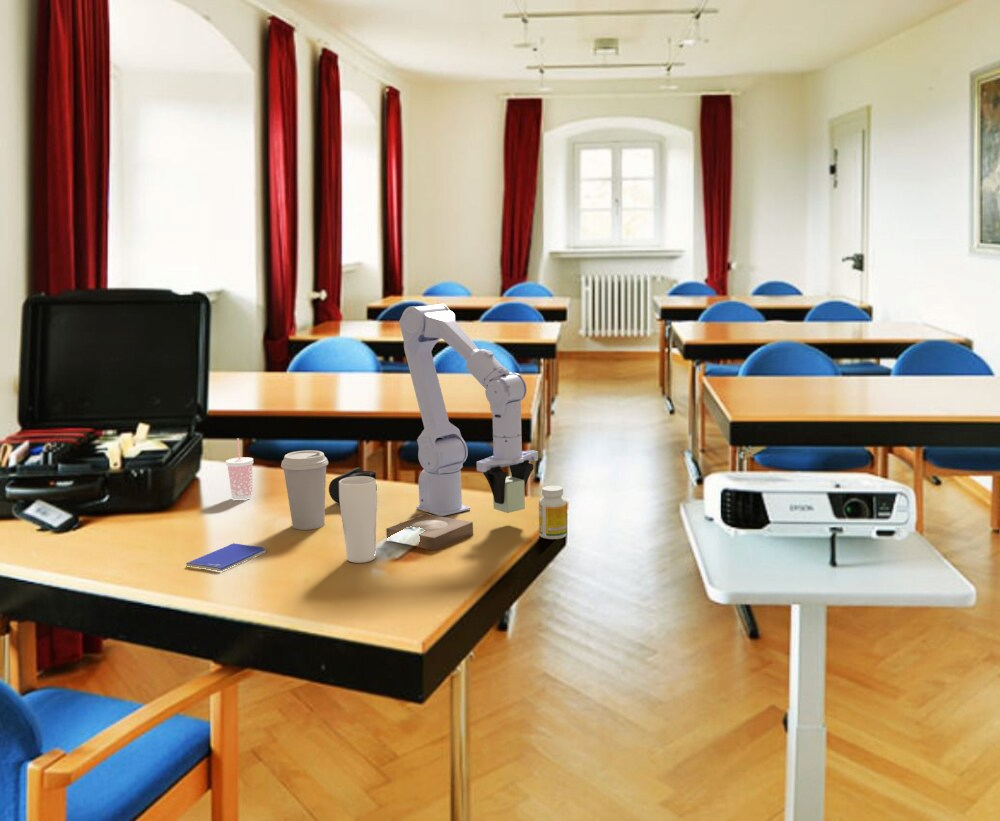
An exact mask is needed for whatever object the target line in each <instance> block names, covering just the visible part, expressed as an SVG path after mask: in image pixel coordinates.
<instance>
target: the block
mask: <svg viewBox="0 0 1000 821" xmlns="http://www.w3.org/2000/svg"><path fill="white" fill-rule="evenodd" d="M525 492H526V490H525V491H524V480H522V479H518V478H515V477H512V475H511V476H507V477H506V481H505V487H504V503H503V504H499V503H495V501H494V497H492V498H493V500H492V501H493V509H494V510H497V511H499V512H502V513H507V514H509V513H514V512H518V511H521V510H525V509H526V508H525V506H526V503H525V502H526V501H525V498H526V497H525Z"/></svg>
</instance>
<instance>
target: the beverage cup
mask: <svg viewBox="0 0 1000 821" xmlns="http://www.w3.org/2000/svg"><path fill="white" fill-rule="evenodd" d="M236 443H237V445H236V446H237V457H232V458H229V459H226V460H225V463H226V465H225V466H227V471H228V472H227V473H228V479H229V486H230V494H231V499H232V498H233V499H247V498H251V497H252V496H253V494H254V493H253V492H254V491H253V490H254V489H253V486H254V485H253V464H254V458H253V457H247V456H246V457H245V456H244V457H241V446H240V445H241V444H240V438H239V437H238V438H236ZM253 497H254V496H253ZM251 499H252V498H251Z"/></svg>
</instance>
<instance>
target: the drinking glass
mask: <svg viewBox="0 0 1000 821" xmlns="http://www.w3.org/2000/svg"><path fill="white" fill-rule="evenodd" d="M376 484H377V483H376V479H374V478H373V477H368V476H354V477H348V478H344V479H341V480H340V481H339V501H340V505H339V509H340V515H341V522H342V529H343V536H344V542H345V543H344V544H345V549H346V550H345V552H346V554H345V555H346V560H347V561H348V562H350V563H354V564H364V563H369V562H371V561H373V560H375V559H376V557H375V556H374V554H375V551H376V552H377V550H376V544H377V543H376V541H377V540H376V539H377V515H378V514H377V510H378V508H377V506H378V500H377V499H378V497H377V496H378V495H377V494H378V493H377V491H376Z"/></svg>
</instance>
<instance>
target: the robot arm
mask: <svg viewBox="0 0 1000 821" xmlns="http://www.w3.org/2000/svg"><path fill="white" fill-rule="evenodd" d="M398 324H399V328H400V331H401V335H402V338H403V349H404V354H405V358H406V361H407V366H408V368H409V374H410V377H411V381H412V386H413V390H414V393H415V397H416V401H417V404H418V408H419V412H420V416H421V420H422V423H423V424H422V425H423V428H424V429H423V430H422V431H421V433H420V435H419V436H418V437H417V439H416V442H417V445H418V446H417V447H418V454H417V456H418V461H419V464H420V465H421V467H422V468H423V469H422V471H421V472H420V474H419V476H418V499H419V500H418V502H419V505H417V506H415V508H416V509H417V510H421V511H424V512H427V513H429V514H431V515H435V516H441V517H446V516H450V515H453V514H457V513H461V512H466V511H470V510H471V506H467V505H465V504H463V502H462V501H463V499H462V474H461V473H462V470H461V469H463V467H464V466H463V464H464V463H465V462H466V460H467V458H468V453H469V452H468V451H469V450H468V449H469V448H468V446H467V443H466V441H465V440H464V438H463V437H462V434H461V431H460V429H459V428H458V427H457V426H455V425H454V424H453V423H451V422H450V421H449V420H450V419H449V415H448V413H447V409H446V404H445V400H444V396H443V393H442V388H441V385H440V380H439V377H438V373H437V370H436V365H435V362H434V357H433V353H432V351H433V348H435V345H436V344H437V343H438V342H439V341H440V340H443V341H444V342H445V343H446V344H447V345H448V346H449V347H451V348H452V349H453V350H454V351H455V352H456V354H458V355H460V357H462V358H463V359H464V360H465V361H466V371H468V372H469V374H471V375H472V376H473V378H475V379H476V381H477V382H478V383H479V384H480V386H482V387H483V388H484V389H485V391H484V392H485V397H486V399H487V401H488V402H489V407H490V408H489V410H490V411H491V414H492V439H493V440H492V444H493V446H492V448H493V451H492V452H493V455H491V456H489V457H486V458H484V459H481V460H478V461H476V471H477V472H480V473H482V474H483V476H484V477H485V478H486V480H487V483H488V484H489V487H490V489H491V493H492V496H493V497H494V501H495V503H499V504H503V503H504V487H505V481H506V477H508V472H507V471H503V469H501V468H506V467H508V468H509V471H510V475H511V477H515V478H518V479H522V480H524V491H525V492H526V488H527V487H526V485H527V484H528V480H529V477H530V475H531V473H532V472H533V470H534V463H530V462H531V461H533V462H537V461H539V451H537V450H535V449H534V450H533V449H529V450H522V449H523V448H522V447H523V446H522V444H523V443H522V442H523V441H522V438H523V437H522V401H523V400H524V398H525V397H526V394H527V384H526V381H525V380H524V377H522V375H521V374H520V373H517V372H511V371H510V370H509V369H508V368H507V367H505V366H503V365H502V363H501V362H500V361H499V360H498V359H497V358H495V354H494V353H493V351H492V350H488V349H485V348H482V349H479V348H478V347H477V345H476V344H475V343H474V341H473V340H472V339H471V338H470V337H469V335H468V334H467V333H466V332H465V331H464V330H463V328H462V327H461V326H460V325H459V323H458V322H457V321H456V314H455V313H454V312H453V311H452V310H450V308H449V307H448V306H447V305H446V304H445V303H441V302H440V303H436V304H430V305H428V304H427V305H419V306H418V305H417V306H414V305H413V306H408V307H406V308H405V309H404V310H403V312H402V315H401V317H400V319H399V321H398ZM439 438H441V439H439ZM493 497H492V498H493Z"/></svg>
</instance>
